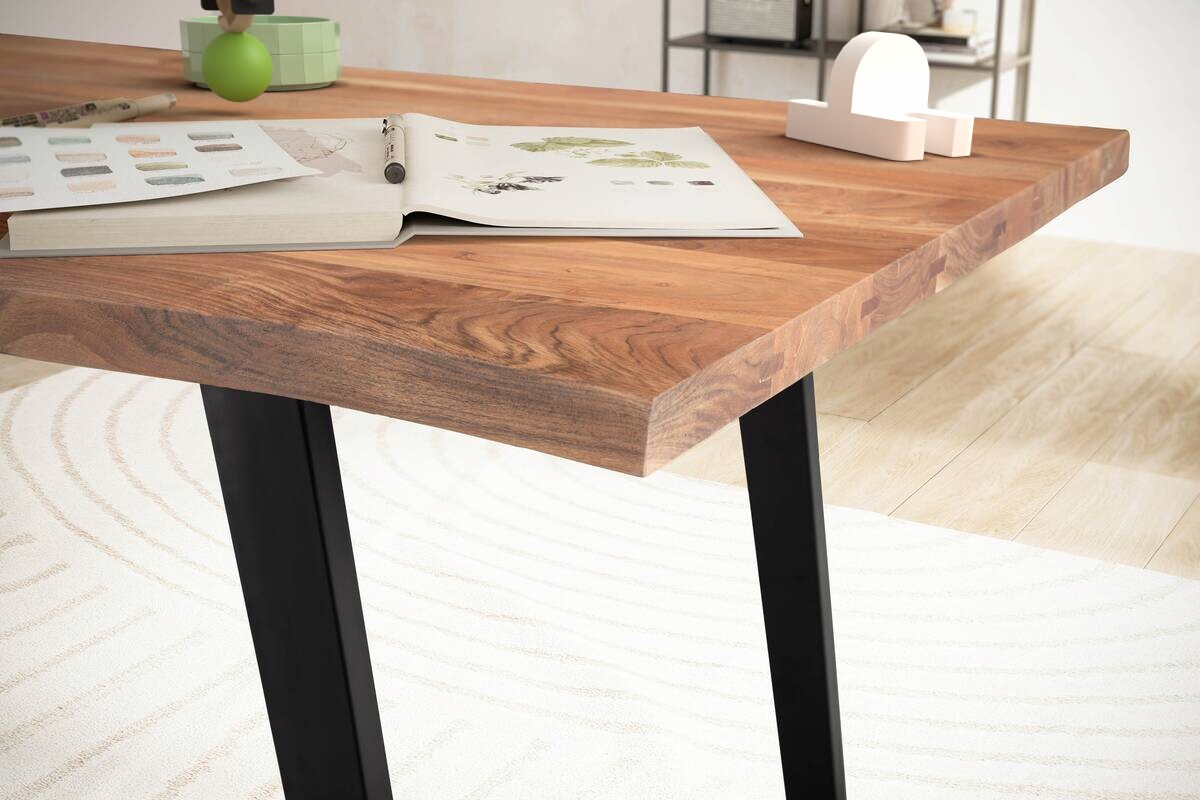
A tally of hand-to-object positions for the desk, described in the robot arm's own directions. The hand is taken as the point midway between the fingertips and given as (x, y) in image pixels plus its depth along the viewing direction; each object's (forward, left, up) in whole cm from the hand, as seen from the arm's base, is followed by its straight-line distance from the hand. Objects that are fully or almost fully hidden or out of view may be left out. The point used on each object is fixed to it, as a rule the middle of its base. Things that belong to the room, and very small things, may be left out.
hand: (237, 10), depth 99 cm
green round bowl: (+10, +21, -8) cm, 25 cm away
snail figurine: (0, 0, -7) cm, 7 cm away
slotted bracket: (+34, -36, -8) cm, 50 cm away
